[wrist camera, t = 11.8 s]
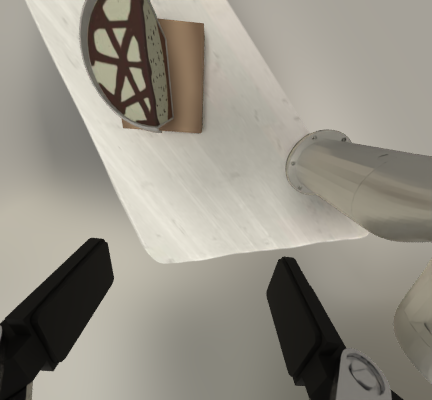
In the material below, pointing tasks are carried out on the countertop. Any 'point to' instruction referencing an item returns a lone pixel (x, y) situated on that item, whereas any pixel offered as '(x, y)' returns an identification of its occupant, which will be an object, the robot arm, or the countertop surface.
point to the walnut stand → (184, 75)
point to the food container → (128, 60)
